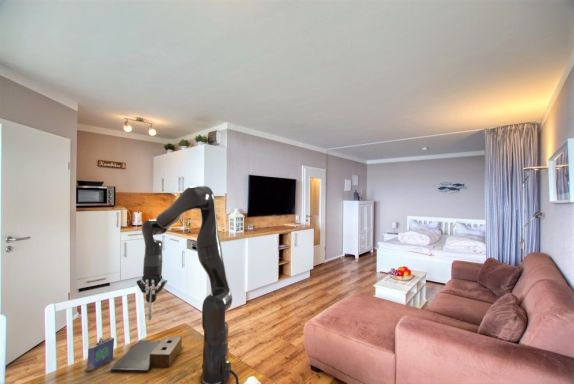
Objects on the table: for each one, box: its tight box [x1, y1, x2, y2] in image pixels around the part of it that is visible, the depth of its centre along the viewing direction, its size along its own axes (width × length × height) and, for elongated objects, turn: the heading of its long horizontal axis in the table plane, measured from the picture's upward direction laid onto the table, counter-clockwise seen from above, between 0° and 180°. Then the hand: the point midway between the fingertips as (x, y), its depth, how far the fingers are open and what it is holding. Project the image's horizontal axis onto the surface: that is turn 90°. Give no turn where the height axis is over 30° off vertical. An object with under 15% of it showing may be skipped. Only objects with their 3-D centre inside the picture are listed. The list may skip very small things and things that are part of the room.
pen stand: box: [149, 336, 183, 368], centre depth 110 cm, size 8×13×5 cm, turn 1°
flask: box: [86, 336, 115, 372], centre depth 103 cm, size 9×3×11 cm, turn 151°
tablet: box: [110, 339, 161, 373], centre depth 110 cm, size 14×20×1 cm
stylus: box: [148, 290, 154, 322], centre depth 115 cm, size 1×1×13 cm
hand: (151, 301), depth 115 cm, fingers closed on stylus, 1 cm apart
